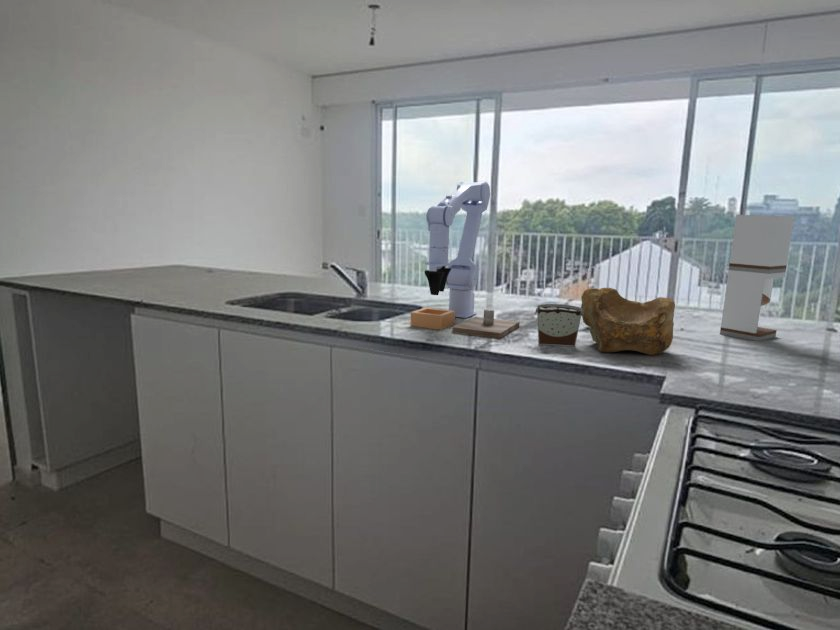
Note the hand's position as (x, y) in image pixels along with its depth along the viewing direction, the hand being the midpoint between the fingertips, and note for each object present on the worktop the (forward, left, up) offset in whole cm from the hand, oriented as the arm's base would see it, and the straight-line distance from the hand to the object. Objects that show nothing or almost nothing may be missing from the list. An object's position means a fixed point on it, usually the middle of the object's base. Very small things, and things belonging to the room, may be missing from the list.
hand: (437, 293), depth 161 cm
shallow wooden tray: (+2, 0, -9) cm, 10 cm away
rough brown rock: (+4, +53, -10) cm, 54 cm away
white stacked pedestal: (-37, +85, -10) cm, 93 cm away
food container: (+5, +37, -10) cm, 38 cm away
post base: (-1, +16, -9) cm, 18 cm away
